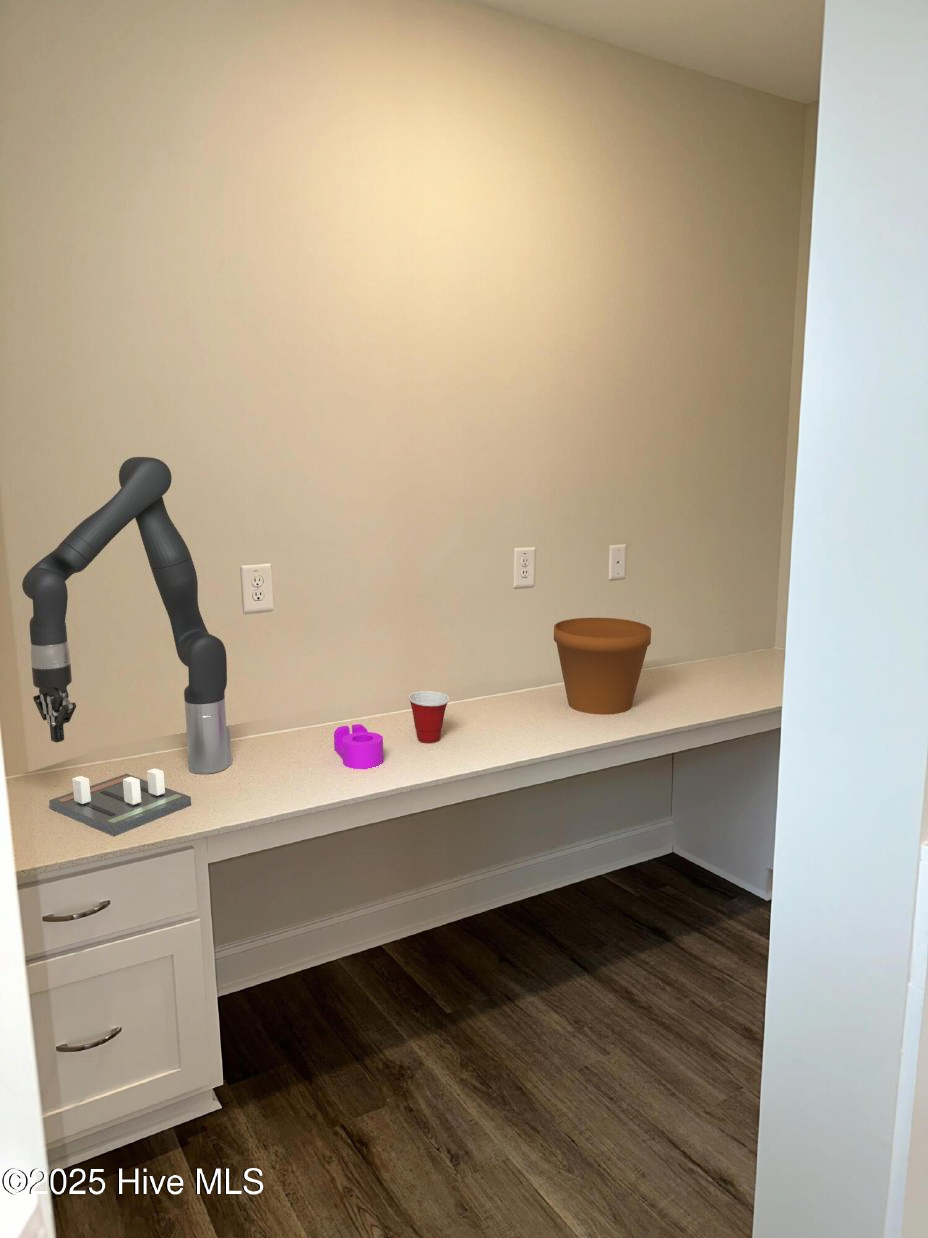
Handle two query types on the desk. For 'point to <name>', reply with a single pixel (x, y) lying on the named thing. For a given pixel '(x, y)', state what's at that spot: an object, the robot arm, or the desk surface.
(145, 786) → the switch panel
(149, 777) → the switch
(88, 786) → the switch
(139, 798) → the switch middle
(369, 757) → the tape dispenser
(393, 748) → the desk surface
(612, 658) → the flowerpot
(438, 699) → the plastic cup
